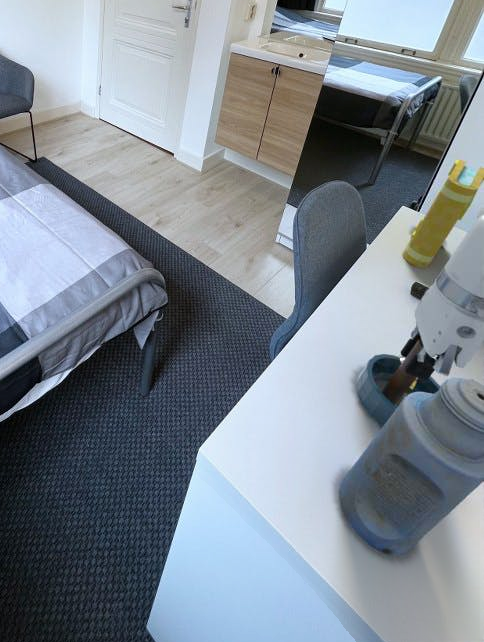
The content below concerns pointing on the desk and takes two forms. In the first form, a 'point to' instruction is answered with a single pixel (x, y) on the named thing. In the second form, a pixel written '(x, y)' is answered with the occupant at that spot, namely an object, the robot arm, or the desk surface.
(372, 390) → the bowl
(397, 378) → the brown wooden dowel
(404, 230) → the desk surface
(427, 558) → the desk surface
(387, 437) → the bottle
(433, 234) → the yellow toy tower
